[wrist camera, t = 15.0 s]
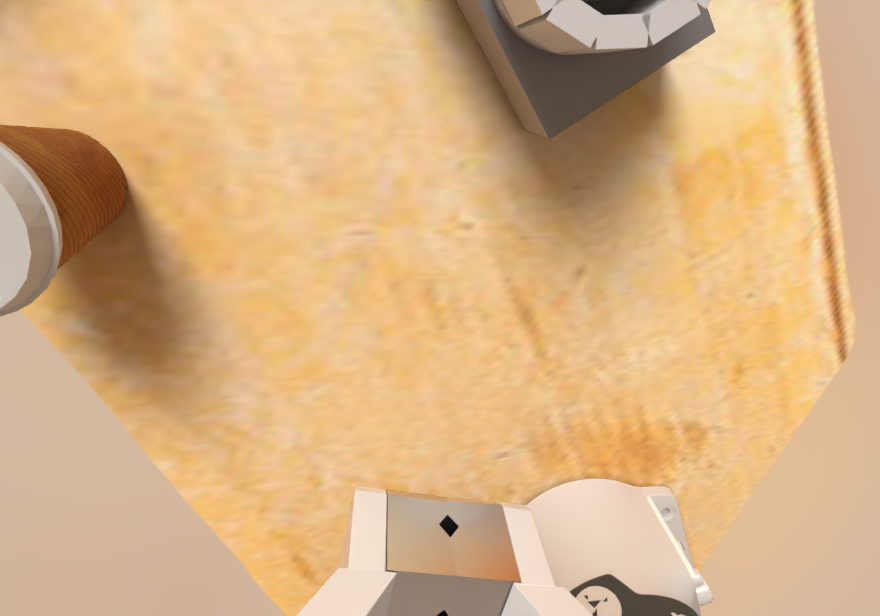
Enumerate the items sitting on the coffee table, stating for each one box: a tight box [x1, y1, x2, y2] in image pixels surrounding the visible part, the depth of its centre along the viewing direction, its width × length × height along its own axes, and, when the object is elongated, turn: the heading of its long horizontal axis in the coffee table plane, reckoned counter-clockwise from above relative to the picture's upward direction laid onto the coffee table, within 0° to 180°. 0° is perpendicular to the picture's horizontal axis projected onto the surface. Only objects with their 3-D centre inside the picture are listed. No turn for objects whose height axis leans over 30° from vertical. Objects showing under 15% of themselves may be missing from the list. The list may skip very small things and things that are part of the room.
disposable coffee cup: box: [0, 125, 126, 316], centre depth 28 cm, size 10×10×12 cm
